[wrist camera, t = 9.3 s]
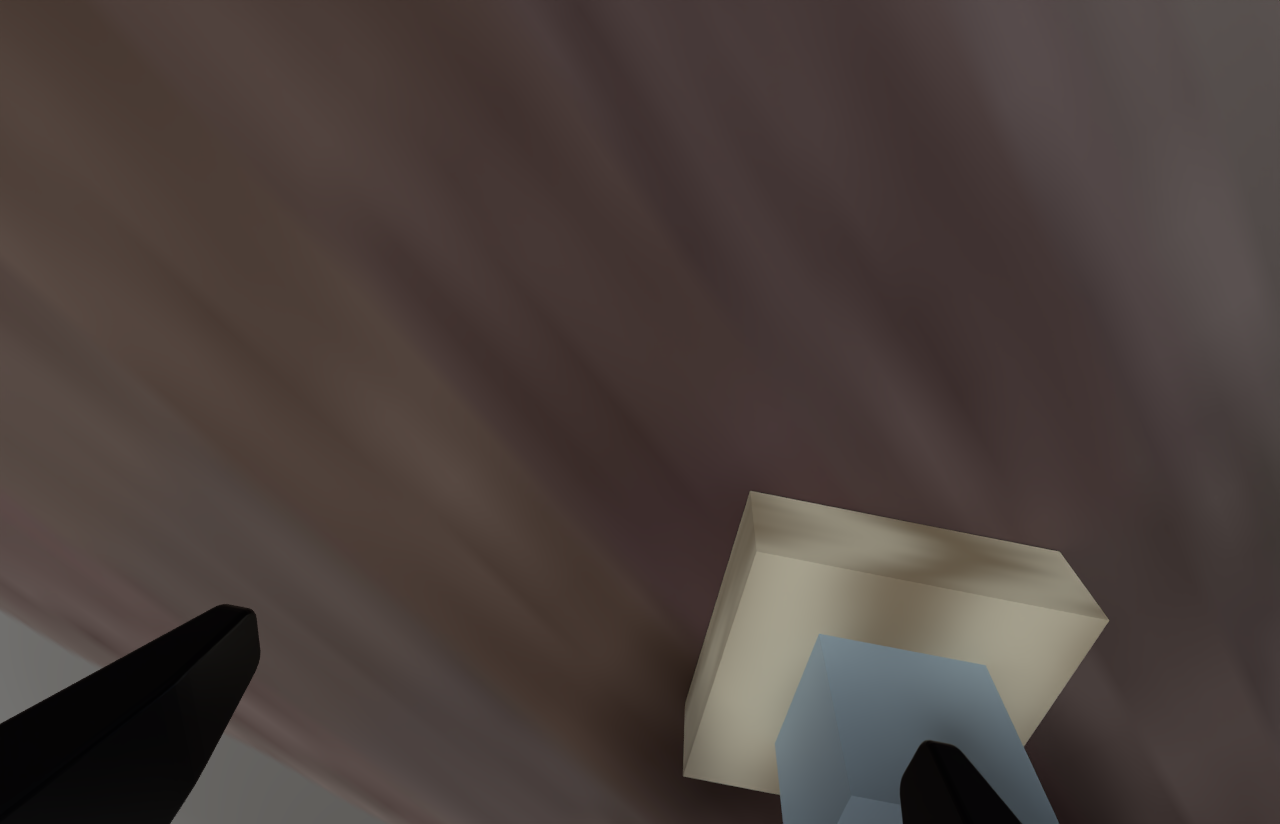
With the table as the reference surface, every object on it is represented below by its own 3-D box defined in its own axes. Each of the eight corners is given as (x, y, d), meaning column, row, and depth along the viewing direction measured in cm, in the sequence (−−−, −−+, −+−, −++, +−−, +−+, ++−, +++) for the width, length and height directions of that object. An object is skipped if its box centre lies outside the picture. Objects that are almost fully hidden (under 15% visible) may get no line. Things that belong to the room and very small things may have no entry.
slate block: (985, 665, 20) (1064, 835, 16) (924, 771, 22) (978, 946, 18) (818, 633, 20) (851, 795, 16) (774, 743, 22) (792, 911, 18)
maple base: (1059, 551, 22) (1109, 620, 19) (940, 753, 26) (966, 831, 24) (750, 490, 22) (756, 551, 19) (685, 703, 26) (682, 776, 24)
